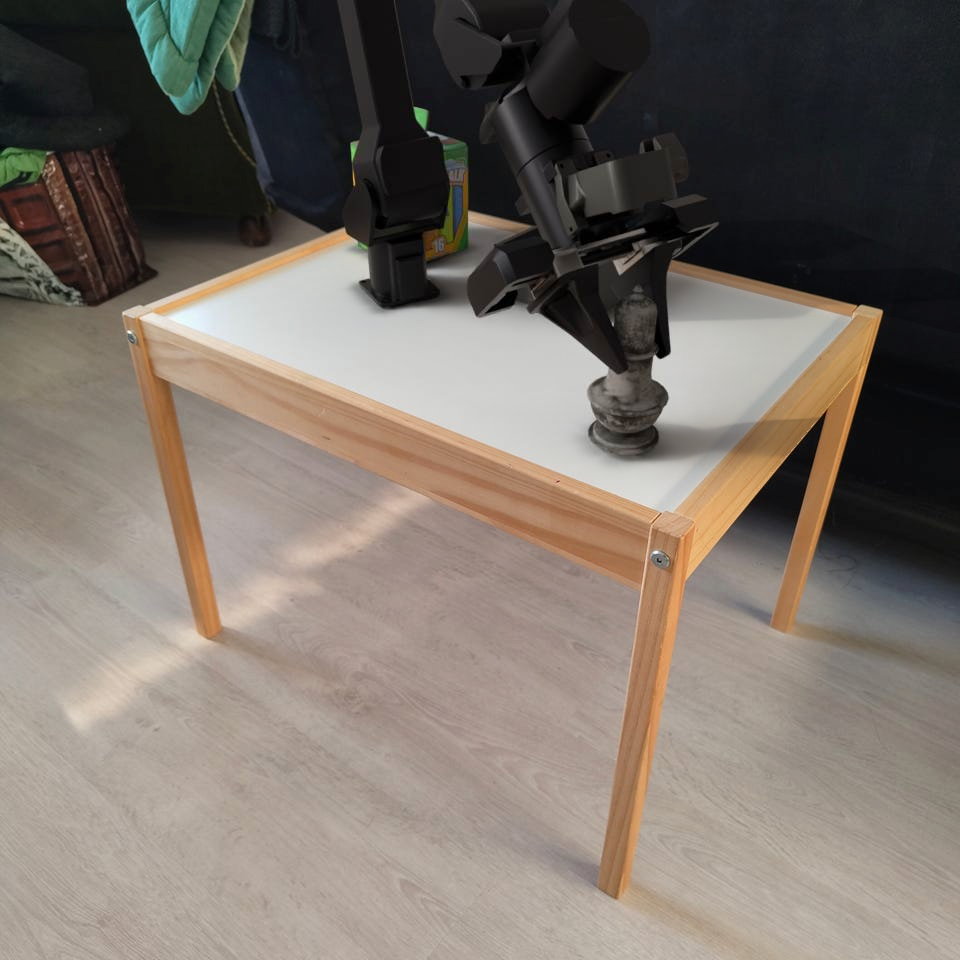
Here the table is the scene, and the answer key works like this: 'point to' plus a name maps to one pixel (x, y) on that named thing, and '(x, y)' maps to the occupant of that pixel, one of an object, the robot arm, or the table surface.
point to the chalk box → (457, 210)
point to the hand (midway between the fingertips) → (644, 364)
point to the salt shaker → (629, 384)
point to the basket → (605, 270)
